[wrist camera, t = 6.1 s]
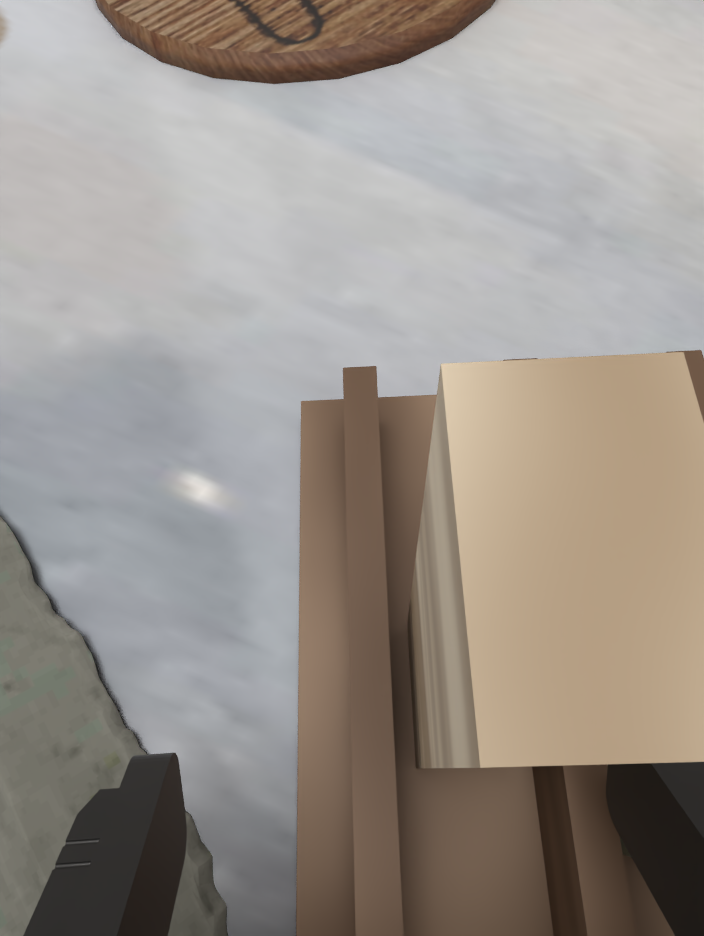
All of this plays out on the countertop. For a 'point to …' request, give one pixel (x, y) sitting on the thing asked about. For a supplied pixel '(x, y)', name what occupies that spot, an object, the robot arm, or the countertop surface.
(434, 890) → the walnut rack
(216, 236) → the countertop surface
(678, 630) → the tall wooden post
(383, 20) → the trivet
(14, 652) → the stone slab
